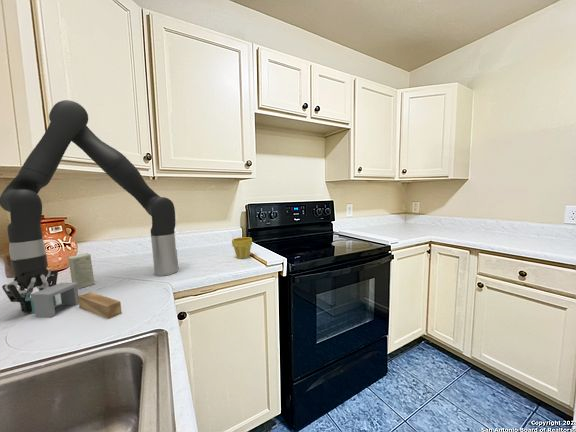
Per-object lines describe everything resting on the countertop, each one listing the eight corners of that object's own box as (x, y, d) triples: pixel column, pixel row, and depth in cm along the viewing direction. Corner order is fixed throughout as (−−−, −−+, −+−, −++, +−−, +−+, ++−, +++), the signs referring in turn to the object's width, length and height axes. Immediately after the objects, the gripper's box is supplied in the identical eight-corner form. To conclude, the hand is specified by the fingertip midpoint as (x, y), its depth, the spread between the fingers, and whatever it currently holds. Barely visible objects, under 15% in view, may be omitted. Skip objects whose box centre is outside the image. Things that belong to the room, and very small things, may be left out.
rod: (92, 303, 80) (90, 291, 80) (121, 314, 73) (120, 301, 72) (79, 308, 77) (77, 296, 77) (108, 320, 69) (107, 306, 69)
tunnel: (64, 303, 81) (61, 282, 80) (80, 303, 80) (78, 282, 79) (34, 317, 72) (30, 294, 71) (52, 317, 71) (49, 294, 71)
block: (42, 305, 79) (40, 294, 79) (56, 305, 79) (54, 293, 78) (26, 312, 75) (24, 300, 74) (41, 313, 74) (39, 300, 74)
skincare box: (92, 282, 100) (88, 252, 98) (95, 284, 97) (91, 254, 96) (71, 287, 95) (67, 256, 94) (74, 289, 92) (70, 258, 91)
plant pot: (235, 254, 135) (234, 237, 134) (254, 254, 135) (253, 236, 134) (230, 260, 125) (229, 241, 124) (250, 259, 124) (249, 240, 123)
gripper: (42, 249, 82) (50, 298, 84) (-13, 262, 68) (-3, 320, 70) (63, 249, 82) (70, 298, 84) (11, 261, 68) (21, 320, 69)
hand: (37, 308), depth 77 cm, fingers closed on block, 4 cm apart
